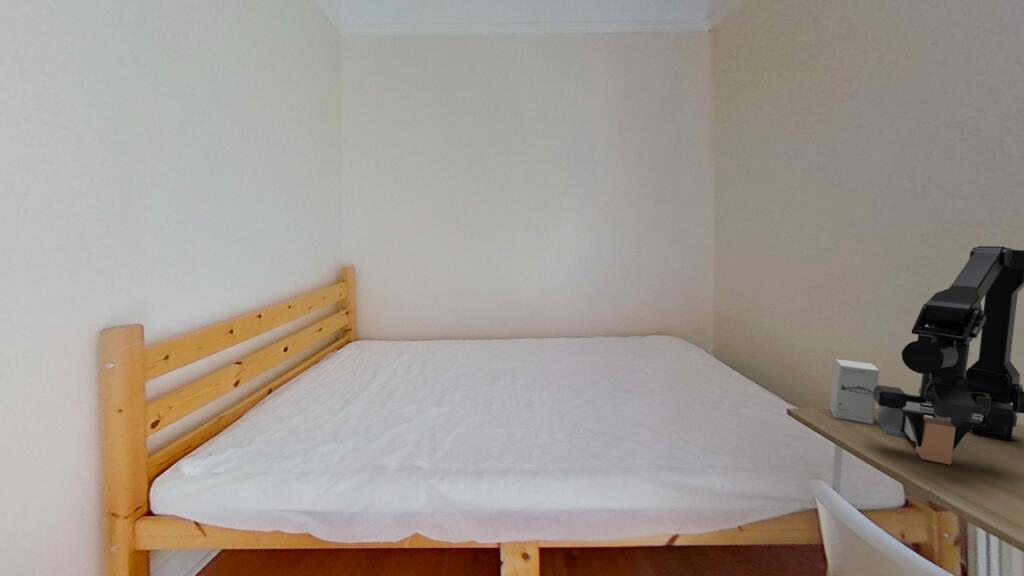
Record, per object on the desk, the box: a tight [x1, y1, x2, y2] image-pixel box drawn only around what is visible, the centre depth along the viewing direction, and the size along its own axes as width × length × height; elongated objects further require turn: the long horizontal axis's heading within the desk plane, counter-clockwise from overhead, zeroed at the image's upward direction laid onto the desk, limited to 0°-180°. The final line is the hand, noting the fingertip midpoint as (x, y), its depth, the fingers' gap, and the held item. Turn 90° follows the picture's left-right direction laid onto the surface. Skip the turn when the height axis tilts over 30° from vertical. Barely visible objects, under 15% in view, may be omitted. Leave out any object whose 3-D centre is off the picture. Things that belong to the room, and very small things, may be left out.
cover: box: [904, 415, 956, 466], centre depth 89 cm, size 4×12×7 cm, turn 151°
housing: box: [876, 402, 951, 438], centre depth 98 cm, size 10×8×7 cm
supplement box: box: [829, 358, 880, 425], centre depth 106 cm, size 7×7×13 cm
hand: (933, 448), depth 85 cm, fingers closed on cover, 4 cm apart
